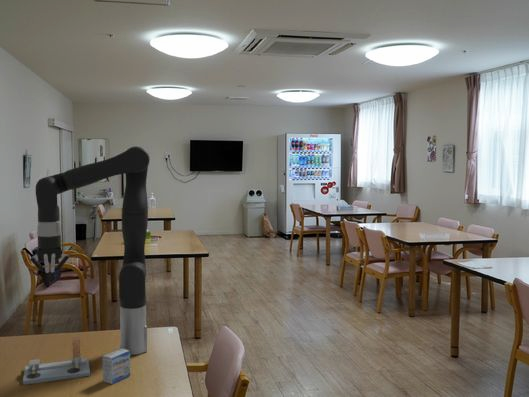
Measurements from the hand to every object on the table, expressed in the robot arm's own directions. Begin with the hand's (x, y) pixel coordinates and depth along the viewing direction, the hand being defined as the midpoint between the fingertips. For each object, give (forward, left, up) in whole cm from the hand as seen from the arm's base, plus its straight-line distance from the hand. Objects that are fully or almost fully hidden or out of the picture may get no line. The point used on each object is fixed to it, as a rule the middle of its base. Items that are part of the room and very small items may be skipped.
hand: (50, 282), depth 181 cm
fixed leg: (+5, +15, -25) cm, 30 cm away
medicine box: (-20, +26, -27) cm, 43 cm away
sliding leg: (-8, +15, -25) cm, 31 cm away
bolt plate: (-2, +15, -27) cm, 31 cm away
